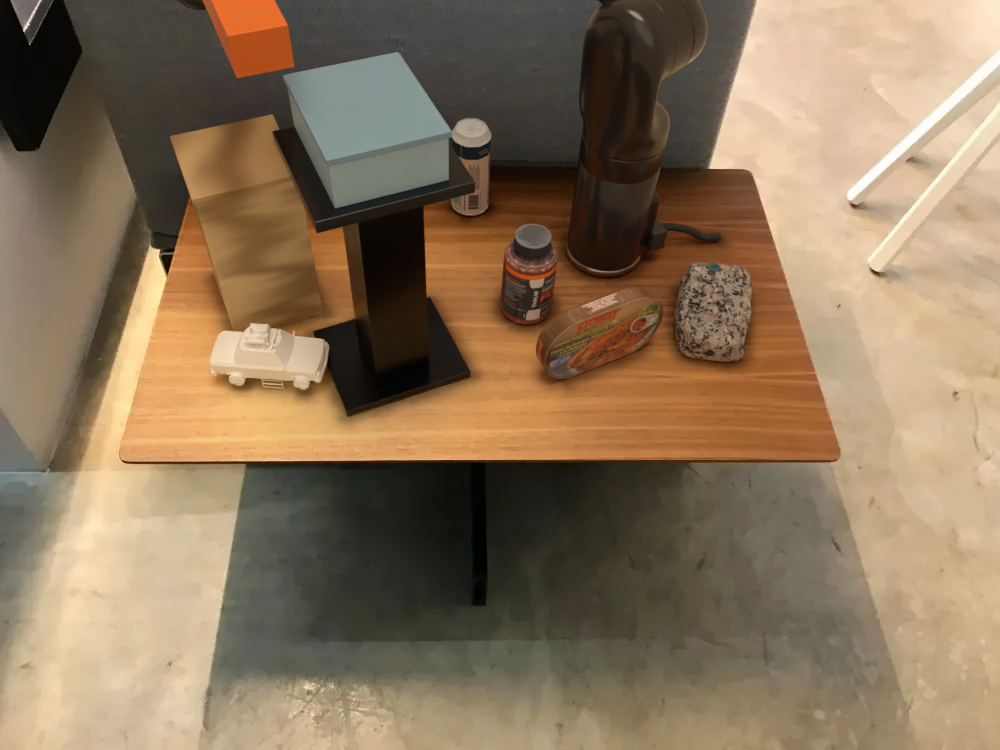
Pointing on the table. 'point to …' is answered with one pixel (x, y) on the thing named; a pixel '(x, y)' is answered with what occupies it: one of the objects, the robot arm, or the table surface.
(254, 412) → the table surface
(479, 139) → the beer can
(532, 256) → the supplement bottle
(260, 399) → the table surface
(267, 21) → the orange rectangular bar
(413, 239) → the shelf stand
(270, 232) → the box
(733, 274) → the rock
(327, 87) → the storage tub
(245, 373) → the toy car
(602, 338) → the tin
